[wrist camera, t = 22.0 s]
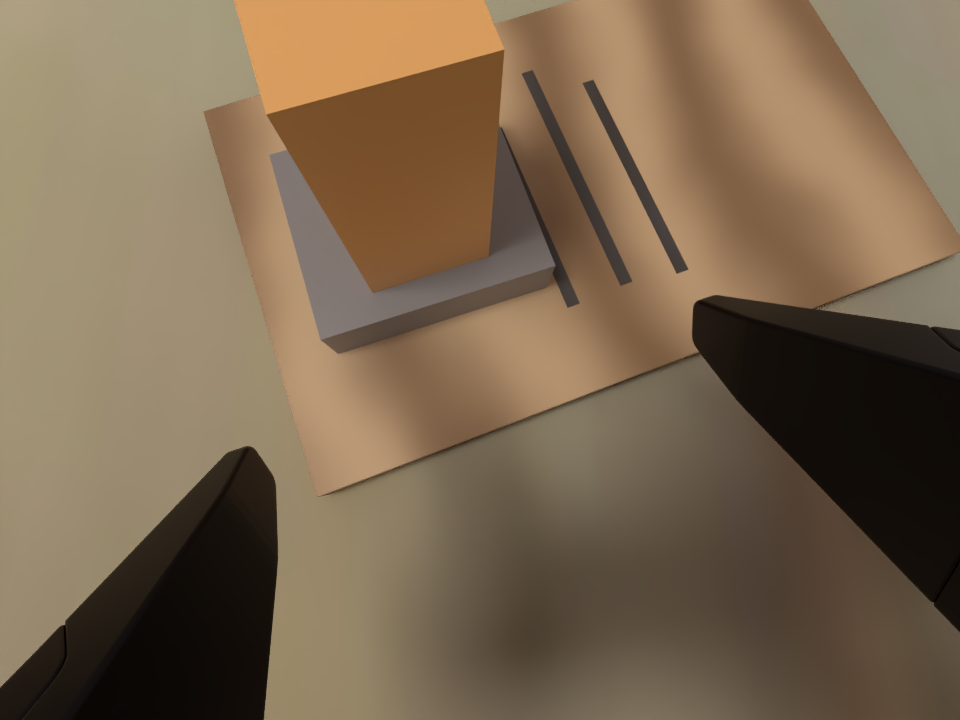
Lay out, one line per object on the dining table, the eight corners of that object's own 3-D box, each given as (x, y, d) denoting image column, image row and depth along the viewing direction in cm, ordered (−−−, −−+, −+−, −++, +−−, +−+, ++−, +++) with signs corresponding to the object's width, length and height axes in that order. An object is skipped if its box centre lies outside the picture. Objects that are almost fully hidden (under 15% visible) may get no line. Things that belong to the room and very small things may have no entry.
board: (758, -36, 22) (770, -59, 21) (942, 259, 19) (967, 248, 18) (216, 128, 20) (203, 111, 19) (326, 494, 17) (317, 497, 16)
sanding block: (485, 131, 19) (499, -224, 9) (546, 287, 17) (639, 66, 8) (291, 187, 18) (79, -131, 8) (338, 353, 17) (150, 204, 7)
